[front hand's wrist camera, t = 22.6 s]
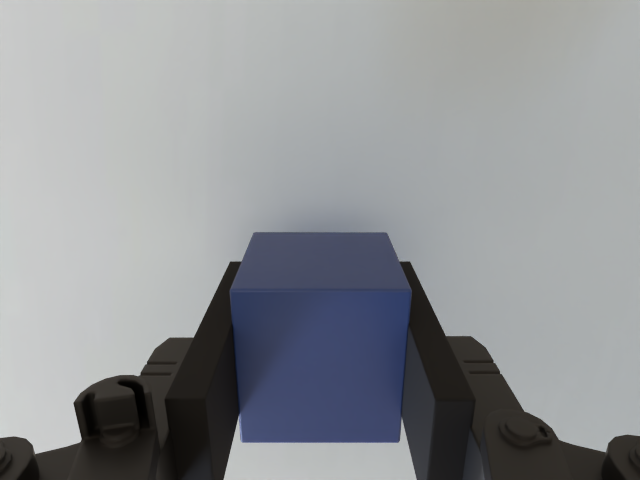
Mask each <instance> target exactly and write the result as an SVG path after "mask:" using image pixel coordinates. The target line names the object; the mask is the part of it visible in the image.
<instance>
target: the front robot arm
mask: <svg viewBox="0 0 640 480" xmlns="http://www.w3.org/2000/svg"><path fill="white" fill-rule="evenodd" d="M400 264H401V267H402V269H403V271H404V274H405V276H406V278H407V281H408V283H409V285H410V288H411V290H412V296H411V308H410V320H409V324H408V337H407V350H406V363H405V376H404V389H403V402H402V419H403V423H404V427H405V432H406V436H407V440H408V444H409V448H410V453H411V457H412V461H413V465H414V469H415V474H416V478H417V480H640V436H633V435H623V436H618V437H615V438H614V439H612V440H611V441H610V442H609V443H608V447H607V451H606V452H601V451H597V450H593V449H589V448H585V447H580V446H576V445H572V444H569V443H566V442H563V441H560V440H558V438H557V436H556V434H555V433H554V431H553V430H552V428H551V427H549V426H548V425H547V424H546V423H545V422H543V421H542V420H541V419H539V418H537V417H535V416H533V415H531V414H529V413H527V412H524V410H523V409H522V407H521V405H520V404H519V402H518V400H517V399H516V397H515V395H514V394H513V392H512V390H511V389H510V387H509V385H508V384H507V382H506V381H505V379H504V377H503V376H502V374H500V371H499V369H498V367H497V366H496V364H495V363H494V362H493V359H492V357H491V356H490V354H489V352H488V351H487V349H486V348H485V347H484V346H483V345H482V344H480V343H479V342H478V341H476V340H475V339H474V338H472V337H471V336H445V334H444V332H443V329H442V327H441V325H440V323H439V321H438V319H437V317H436V315H435V313H434V311H433V309H432V307H431V304H430V302H429V300H428V298H427V296H426V294H425V292H424V290H423V288H422V286H421V284H420V282H419V279H418V277H417V275H416V273H415V271H414V269H413V267H412V265H411V263H410V262H400ZM240 265H241V262H230V263H229V266H228V268H227V270H226V272H225V274H224V276H223V278H222V280H221V282H220V284H219V286H218V288H217V291H216V293H215V295H214V297H213V299H212V301H211V303H210V305H209V307H208V309H207V311H206V313H205V316H204V318H203V320H202V322H201V324H200V326H199V328H198V330H197V332H196V334H195V336H194V338H169V339H167V340H166V341H165V342H163V343H162V344H161V345H160V346H158V347H157V348H156V349H155V350H154V351H153V353H152V355H151V356H150V358H149V360H148V361H147V365H145V366H144V368H143V370H142V371H141V375H140V376H134V375H119V376H115V377H111V378H106V379H104V380H102V381H99V382H97V383H95V384H93V385H91V386H90V387H88V388H87V389H86V390H84V391H83V392H82V393H80V395H79V396H78V397H77V399H76V400H75V401H74V407H75V412H76V416H77V420H78V425H79V429H80V433H81V438H82V440H81V442H80V443H77V444H74V445H71V446H68V447H64V448H59V449H55V450H51V451H47V452H42V453H38V454H35V453H34V449H33V445H32V444H31V443H30V442H29V441H28V440H27V439H24V438H19V437H6V438H0V480H223V479H224V475H225V471H226V467H227V462H228V458H229V454H230V450H231V446H232V441H233V437H234V433H235V429H236V425H237V420H238V416H239V408H238V395H237V381H236V368H235V355H234V342H233V328H232V316H231V302H230V289H231V286H232V284H233V281H234V279H235V277H236V274H237V272H238V269H239V267H240Z"/></svg>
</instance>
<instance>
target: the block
mask: <svg viewBox="0 0 640 480" xmlns="http://www.w3.org/2000/svg"><path fill="white" fill-rule="evenodd" d="M411 296H412V290H411V288H410V285H409V283H408V281H407V278H406V276H405V274H404V271H403V269H402V267H401V264H400V262H399V260H398V257H397V255H396V253H395V250H394V248H393V246H392V243H391V241H390V239H389V236H388V234H387V233H299V232H255V233H253V236H252V238H251V241H250V243H249V245H248V248H247V250H246V253H245V255H244V257H243V260H242V262H241V265H240V267H239V269H238V272H237V274H236V277H235V279H234V281H233V284H232V286H231V289H230V302H231V316H232V328H233V342H234V355H235V368H236V381H237V395H238V408H239V424H240V437H241V442H250V443H398V442H399V441H400V432H401V420H402V402H403V389H404V376H405V363H406V350H407V337H408V324H409V320H410V308H411Z"/></svg>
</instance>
